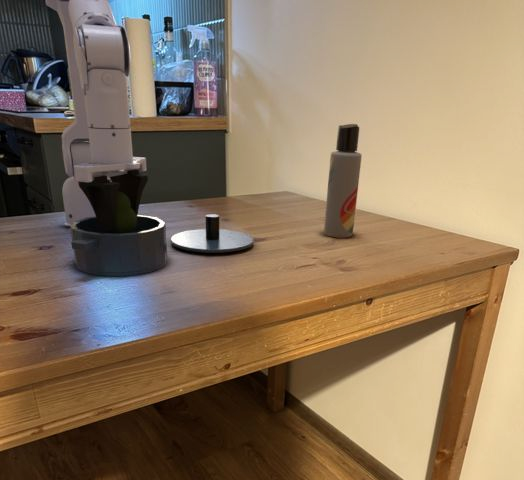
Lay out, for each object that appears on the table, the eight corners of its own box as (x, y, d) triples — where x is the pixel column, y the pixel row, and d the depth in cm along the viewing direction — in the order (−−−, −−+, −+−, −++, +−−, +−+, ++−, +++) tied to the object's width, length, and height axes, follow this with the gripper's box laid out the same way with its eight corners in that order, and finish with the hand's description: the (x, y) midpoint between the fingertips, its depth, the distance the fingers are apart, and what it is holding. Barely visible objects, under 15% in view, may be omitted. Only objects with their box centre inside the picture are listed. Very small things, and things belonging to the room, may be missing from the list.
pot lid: (155, 249, 85) (153, 219, 82) (194, 231, 97) (193, 204, 95) (234, 260, 80) (235, 228, 78) (264, 240, 93) (265, 212, 91)
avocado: (95, 240, 74) (90, 192, 71) (116, 232, 79) (111, 187, 76) (125, 244, 73) (121, 195, 70) (144, 236, 77) (141, 190, 74)
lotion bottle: (358, 236, 98) (371, 125, 89) (337, 239, 95) (348, 124, 86) (338, 230, 102) (349, 123, 93) (317, 233, 99) (326, 123, 90)
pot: (43, 273, 71) (36, 232, 69) (120, 243, 87) (116, 208, 85) (125, 287, 67) (121, 243, 65) (189, 252, 84) (188, 216, 81)
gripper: (102, 131, 62) (113, 240, 68) (161, 127, 74) (166, 219, 80) (55, 128, 64) (70, 234, 70) (120, 125, 76) (128, 215, 82)
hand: (118, 226), depth 75 cm, fingers closed on avocado, 5 cm apart
